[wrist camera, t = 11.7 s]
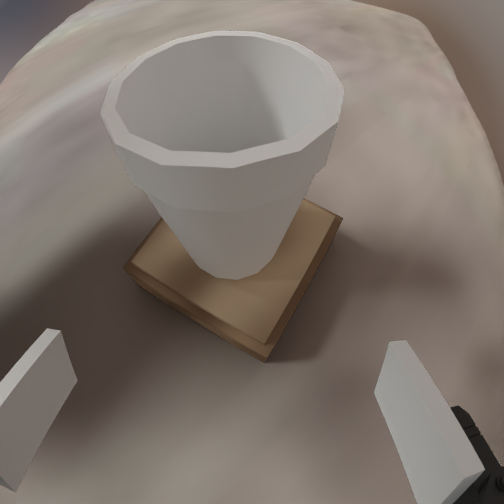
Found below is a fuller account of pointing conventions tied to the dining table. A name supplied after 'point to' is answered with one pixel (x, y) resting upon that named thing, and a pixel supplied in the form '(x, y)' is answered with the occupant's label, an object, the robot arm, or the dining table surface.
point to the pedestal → (238, 281)
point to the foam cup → (225, 139)
